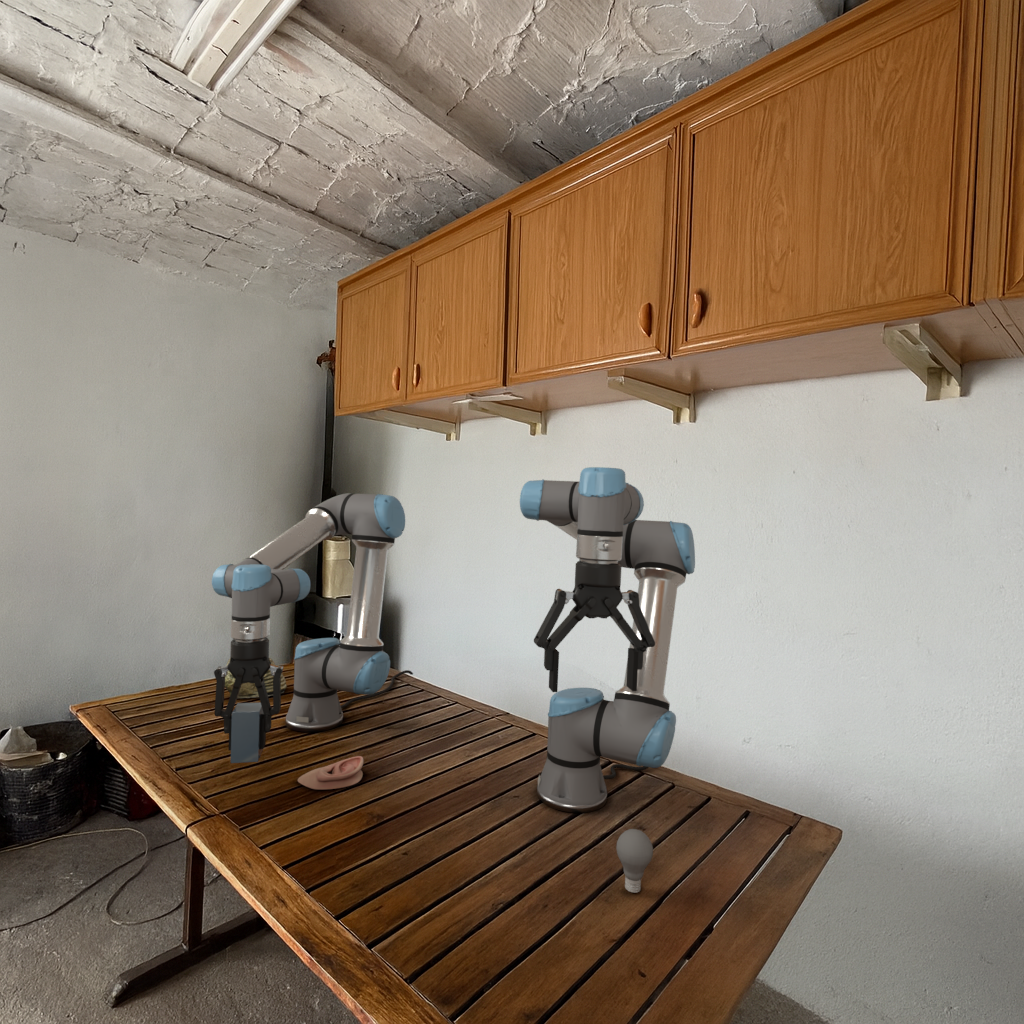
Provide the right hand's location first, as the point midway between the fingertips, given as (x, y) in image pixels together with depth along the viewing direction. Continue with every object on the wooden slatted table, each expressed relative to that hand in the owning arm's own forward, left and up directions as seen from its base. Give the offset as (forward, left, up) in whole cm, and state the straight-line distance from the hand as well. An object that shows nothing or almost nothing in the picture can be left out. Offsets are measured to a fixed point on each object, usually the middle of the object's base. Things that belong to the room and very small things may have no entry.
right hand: (592, 689), depth 105 cm
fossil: (+55, -119, -34) cm, 135 cm away
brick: (+55, -51, -26) cm, 79 cm away
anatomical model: (+37, -52, -34) cm, 72 cm away
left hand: (+55, -51, -24) cm, 78 cm away
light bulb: (-8, +3, -34) cm, 35 cm away
